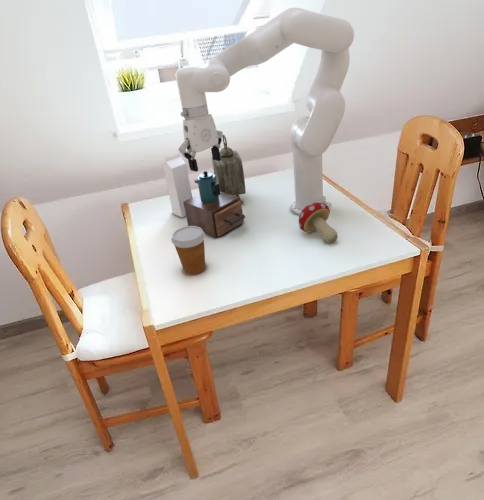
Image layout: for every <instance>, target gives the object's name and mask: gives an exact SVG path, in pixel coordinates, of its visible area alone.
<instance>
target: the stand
mask: <svg viewBox="0 0 484 500" xmlns="http://www.w3.org/2000/svg"><path fill="white" fill-rule="evenodd" d="M239 197H240V196H239ZM239 197H237V196H234V195H230V194H227V193H224V192H221V191H220V195H219V199H218V200H217V201H215V202H212V203H203V202H202V201H201V198H200V193H198V194H196V195H194V196H192V198H190V199H188V200H186V201H184V202H183V204H184V208H185V213H186V216H185V218H186V222H187V226H197V227H200V228H201V229H202V230H203V232H204V233H205V235H206V236H209V237H212V238H214V239H217V238H219V237H220V236H218V235H217V232H216V227H215V221H214V215H213V213H215V212H217V211H218V210H220V209H222V208H224V207H226V206H228V205H230V204H232V203H233V202H237V201H240V200H239Z"/></svg>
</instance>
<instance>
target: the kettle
mask: <svg viewBox="0 0 484 500" xmlns="http://www.w3.org/2000/svg"><path fill="white" fill-rule="evenodd" d="M194 183H195V184H197V187H198V192H199V193H198V194H200V198H201V201H202V202H203V203H212V202H215V201H217V200H218V199H219V195H220V188H219V183H216V177H215V174H214V173H212V172H208V171H207V170H204V171H203V172H201V173H200V174H199V175H198V176H197V177H196V178H195V180H194Z"/></svg>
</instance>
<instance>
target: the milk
mask: <svg viewBox="0 0 484 500" xmlns="http://www.w3.org/2000/svg"><path fill="white" fill-rule="evenodd" d="M164 160H165V161H164V163H163V164H162V171H163V175H164V178H165V184H166V187H167V192H168V197H169V202H170V205H171V211H172V214H173V215H176V216H177V217H180V218H181V219H182V218H183V219H184V218H186V213H185V208H184V204H183V202H184V201H186V200H188V199H190V198H192V197H193V192H192V187H191V182H190V178H189V172H188V167H187V163H186V161H184V159H183V158H182V157H181V153H180V152H178V153H175V154H172V155H169V156H167V157H165V159H164Z"/></svg>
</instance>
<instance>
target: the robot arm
mask: <svg viewBox="0 0 484 500" xmlns="http://www.w3.org/2000/svg"><path fill="white" fill-rule="evenodd" d="M354 31H355V30H354V27H353V26H352V23H350V22H349V21H348V20H346V19H344V18H339V17H335V16H331V15H327V14H323V13H318V12H315V11H312V10H308V9H305V8H301V7H289V8H287V9H285V10H284V11H282V12H280V13H279V14H277V15H276V16H274V17H273V18H272V19H270V20H269V21H267V22H265V23H264V24H263V25H261V26H260V27H258V28H257V29H255V30H253V31H252V32H251V33H249V34H248V35H246V36H244V37H242V38H241V39H239V40H238V41H236V42H234V43H233V44H231V45H230V46H227V47H225V48H224V49H223V50H221V51H220V52H218V53H217V54H215V55H214V56H212V57H211V58H210V59H208V60H207V61H206V62H205V63H204V65H203V66H202V67H198V66H197V65H196V66H195V65H194V66H193V65H192V66H185V67H180V68H178V69H177V70H176V71H175V79H176V85H177V89H178V96H179V100H180V104H181V109H182V110H181V111H180V116H181V117H182V118H183V119H182V131H183V139H184V141H183V142H182V143H181V145H180V146H179V147H178V149H177V150H178V152H179V153H180V155H181V156H182V157H184V158H185V159H186V160H187V161H188V166H189V169H190V171H192V172H195V173H197V172H198V171H199V167H198V162H197V161H198V160H197V159H196V158H195V157H196V155H197V153H201V152H204V151H206V150H208V149H210V151H211V152H210V153H211V158H212V157H213V160H217V161H220V160H221V158H220V148H221V143H222V142H223V138H222V135H224V133H223V131H221V130H217V127H216V123H215V120H214V118H213V115H212V113H211V112H209V108H208V101H207V96H206V93H220V92H223V91H224V90H226V89H227V88H228V87H229V85H230V82H231V77H232V76H234V75H235V74H237V73H238V72H240V71H242V70H244V69H246V68H248V67H249V68H250V67H252V66H258V65H261V64H264V63H266V62H268V61H270V59H272V58H274V57H275V56H277V55H278V54H280V53H281V52H283V51H284V50H286V49H287V48H289V47H290V46H292V45H293V44H296V45H300V46H302V47H307V48H311V49H315V50H319V51H320V62H319V65H318V69H317V71H316V74H315V77H314V79H313V81H312V84H311V86H310V87H309V90H308V92H307V95H306V99H305V105H306V108H307V109H308V111H309V112H310V114H309V116H305V115H304V116H301V117H299V118H297V119H295V121H293V123H292V125H291V128H290V133H289V137H290V144H291V151H292V159H293V160H292V163H293V180H294V183H293V184H294V199H295V200H294V202H292V204H291V212H292V213H293V214H296V215H298V216H300V213H301V211H302V210H303V209H304V208H305V207H306V206H307V205H309V204H312V203H315V202H316V203H324V204H326V205H327V206H328V207H329V211H330V212H331V208H332V205H333V204H332V202H329V201H327V200H326V198H327V197H326V196H324V186H323V185H324V184H323V183H324V182H323V179H324V178H323V154H324V153H325V152H326V151H327V150H328V148H329V147H330V145H331V144H332V142H333V139H334V137H335V135H336V133H337V131H338V129H339V126H340V124H341V122H342V119H343V117H344V115H345V112H346V111H345V110H346V99H345V97H344V95H343V94H342V93H341V92H340V91H341V89H342V86H343V85H344V84H343V83H344V82H345V79H346V76H347V74H348V70H349V67H350V56H351V55H350V47H351V45H352V44H353V42H354V39H355V32H354ZM186 150H187V151H186Z"/></svg>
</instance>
